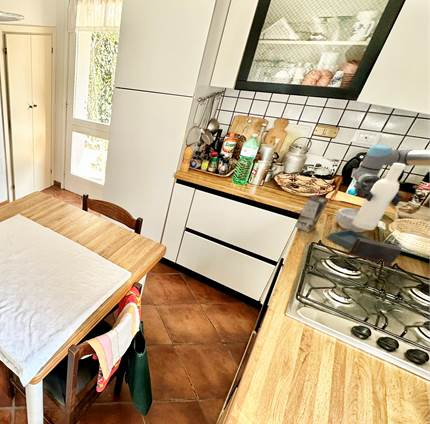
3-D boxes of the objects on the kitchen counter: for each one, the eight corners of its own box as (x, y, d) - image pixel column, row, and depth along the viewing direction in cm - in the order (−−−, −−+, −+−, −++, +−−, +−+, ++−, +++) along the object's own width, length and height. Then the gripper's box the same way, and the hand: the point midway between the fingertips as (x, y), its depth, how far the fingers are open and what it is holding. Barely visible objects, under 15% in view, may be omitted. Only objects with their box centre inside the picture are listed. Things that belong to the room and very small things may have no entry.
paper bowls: (325, 223, 161) (332, 210, 158) (341, 218, 167) (348, 205, 163) (360, 238, 149) (369, 224, 146) (376, 231, 155) (384, 218, 151)
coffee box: (308, 232, 153) (323, 204, 146) (294, 227, 158) (307, 199, 150) (315, 227, 158) (329, 199, 150) (301, 221, 163) (314, 194, 155)
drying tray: (379, 249, 141) (382, 244, 140) (358, 254, 138) (361, 249, 136) (346, 234, 153) (349, 229, 151) (327, 238, 149) (330, 233, 148)
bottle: (372, 232, 135) (412, 168, 121) (350, 225, 141) (385, 163, 126) (375, 226, 140) (414, 164, 125) (353, 219, 145) (388, 159, 131)
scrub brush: (388, 264, 132) (400, 247, 127) (391, 268, 129) (403, 251, 125) (347, 253, 138) (357, 236, 134) (348, 257, 136) (358, 240, 131)
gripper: (394, 195, 144) (411, 215, 127) (339, 185, 153) (348, 202, 136) (403, 180, 140) (422, 198, 123) (346, 171, 149) (356, 187, 132)
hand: (383, 200), depth 129 cm, fingers closed on bottle, 8 cm apart
